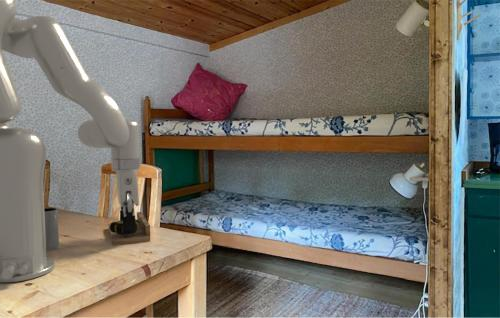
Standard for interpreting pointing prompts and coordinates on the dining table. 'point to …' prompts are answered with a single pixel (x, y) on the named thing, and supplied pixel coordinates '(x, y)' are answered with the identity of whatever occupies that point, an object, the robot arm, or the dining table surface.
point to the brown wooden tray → (137, 237)
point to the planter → (51, 228)
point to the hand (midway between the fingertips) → (127, 226)
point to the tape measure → (118, 228)
